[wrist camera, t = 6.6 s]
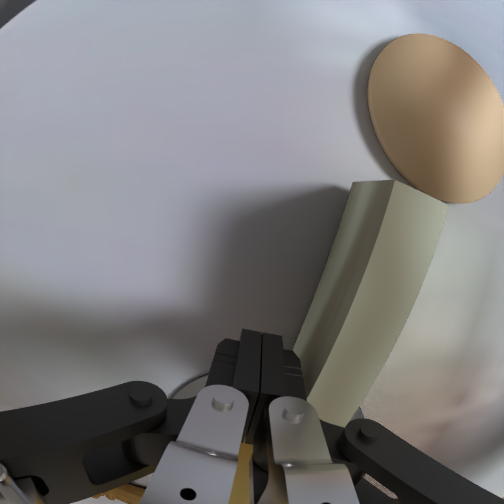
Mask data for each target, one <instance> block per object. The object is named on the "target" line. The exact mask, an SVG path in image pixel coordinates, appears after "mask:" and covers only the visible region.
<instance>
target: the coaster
mask: <svg viewBox="0 0 504 504" xmlns="http://www.w3.org/2000/svg"><path fill="white" fill-rule="evenodd" d="M367 99H368V108H369V114H370V118H371V122H372V125H373V128H374V131H375V133H376V136H377V138H378V141H379V143H380V145H381V147H382V148H383V150H384V152H385V154H386V155H387V157H388V158H389V160H390V161H391V163H392V164H393V166H394V167H395V168H396V169H397V171H398V172H399V173H400V174H401V175H402V176H403V177H404V178H405V179H406V180H407V181H408V182H409V183H410V184H411V185H413V186H414V187H415V188H416V189H418V190H419V191H421V192H423V193H425V194H427V195H429V196H431V197H433V198H435V199H437V200H441V201H444V202H452V203H470V202H474V201H477V200H479V199H481V198H483V197H485V196H486V195H487V194H489V193H490V192H491V191H492V190H493V189H494V188H495V187H496V185H497V184H498V183H499V181H500V180H501V178H502V176H503V174H504V105H503V103H502V100H501V98H500V95H499V93H498V91H497V89H496V87H495V86H494V84H493V82H492V81H491V79H490V78H489V76H488V75H487V73H486V72H485V71H484V69H483V68H482V67H481V66H480V65H479V64H478V63H477V62H476V61H475V60H474V59H473V58H472V57H471V56H470V55H469V54H468V53H466V52H465V51H464V50H462V49H461V48H460V47H458V46H456V45H455V44H453V43H451V42H449V41H447V40H445V39H443V38H440V37H437V36H433V35H428V34H409V35H405V36H401V37H399V38H397V39H395V40H393V41H392V42H391V43H389V44H388V45H387V46H386V47H385V48H384V49H383V50H382V52H381V53H380V54H379V55H378V56H377V58H376V60H375V62H374V63H373V65H372V68H371V71H370V74H369V79H368V87H367Z"/></svg>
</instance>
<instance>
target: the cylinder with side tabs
mask: <svg viewBox="0 0 504 504" xmlns="http://www.w3.org/2000/svg"><path fill="white" fill-rule="evenodd" d="M245 437H246V436H245ZM252 453H253V445H251V444H245V439H244V442H243V443H241V444H240V448H239V453H238V457H237V458H238V463H237V468H236V473H235V477H234V481H233V486H232V490H231V494H230V498H229V502H228V504H250V485H249V461H250V458H251V456H252Z"/></svg>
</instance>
